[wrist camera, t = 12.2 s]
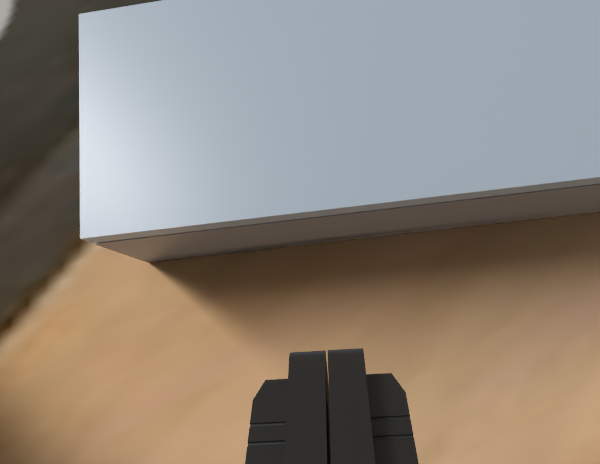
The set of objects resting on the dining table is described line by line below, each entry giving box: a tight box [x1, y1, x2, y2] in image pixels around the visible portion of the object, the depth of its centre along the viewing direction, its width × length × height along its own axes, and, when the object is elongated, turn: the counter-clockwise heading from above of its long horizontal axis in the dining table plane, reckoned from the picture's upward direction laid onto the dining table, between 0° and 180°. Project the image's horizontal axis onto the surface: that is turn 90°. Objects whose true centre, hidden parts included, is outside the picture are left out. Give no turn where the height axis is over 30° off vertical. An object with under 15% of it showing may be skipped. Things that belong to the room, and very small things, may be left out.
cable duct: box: [94, 184, 600, 262], centre depth 28 cm, size 10×24×6 cm, turn 95°
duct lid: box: [79, 0, 600, 243], centre depth 24 cm, size 10×24×1 cm, turn 95°
